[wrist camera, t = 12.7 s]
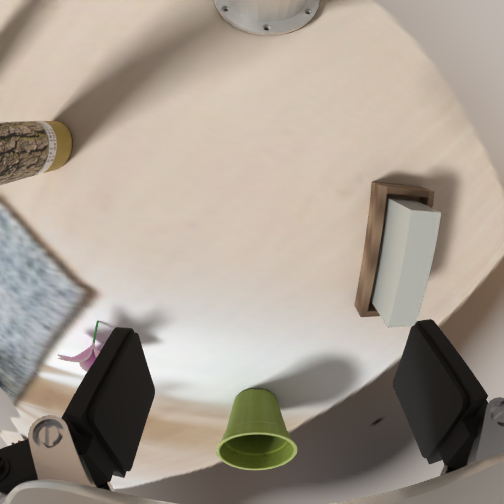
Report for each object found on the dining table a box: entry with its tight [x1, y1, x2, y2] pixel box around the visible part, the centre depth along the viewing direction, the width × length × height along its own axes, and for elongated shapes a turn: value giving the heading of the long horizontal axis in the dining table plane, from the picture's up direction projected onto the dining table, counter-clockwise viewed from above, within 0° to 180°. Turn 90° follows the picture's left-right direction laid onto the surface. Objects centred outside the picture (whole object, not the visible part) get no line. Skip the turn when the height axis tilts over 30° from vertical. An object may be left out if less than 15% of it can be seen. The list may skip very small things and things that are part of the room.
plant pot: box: [216, 389, 297, 470], centre depth 42 cm, size 12×12×11 cm
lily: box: [58, 321, 100, 372], centre depth 40 cm, size 12×12×10 cm
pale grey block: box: [370, 197, 441, 328], centre depth 33 cm, size 14×4×7 cm, turn 0°
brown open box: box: [355, 182, 434, 317], centre depth 36 cm, size 17×8×3 cm, turn 179°
